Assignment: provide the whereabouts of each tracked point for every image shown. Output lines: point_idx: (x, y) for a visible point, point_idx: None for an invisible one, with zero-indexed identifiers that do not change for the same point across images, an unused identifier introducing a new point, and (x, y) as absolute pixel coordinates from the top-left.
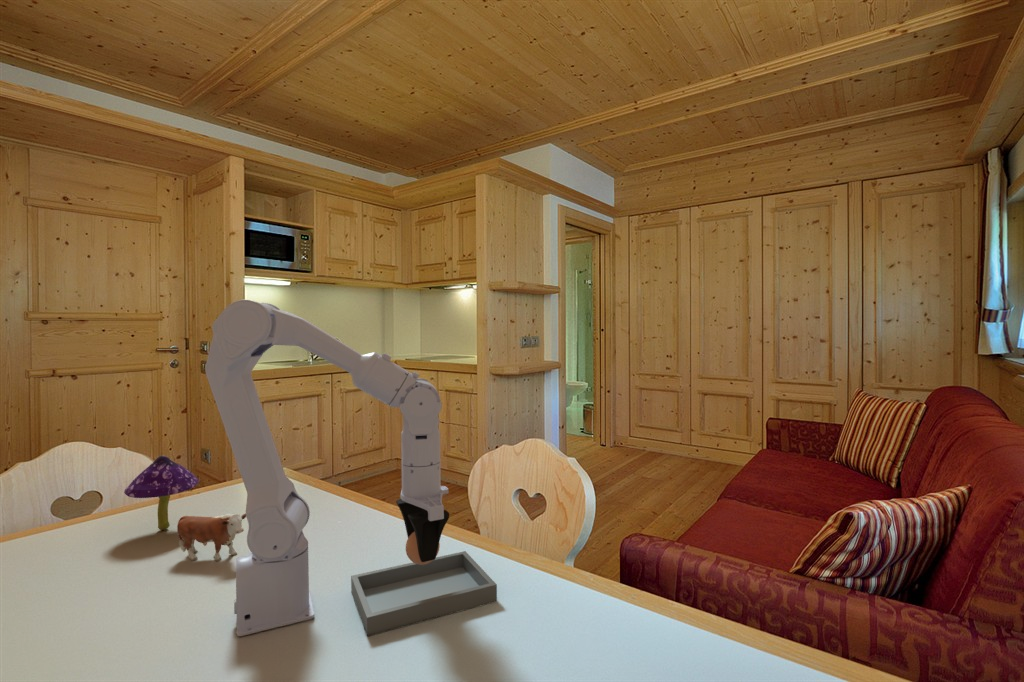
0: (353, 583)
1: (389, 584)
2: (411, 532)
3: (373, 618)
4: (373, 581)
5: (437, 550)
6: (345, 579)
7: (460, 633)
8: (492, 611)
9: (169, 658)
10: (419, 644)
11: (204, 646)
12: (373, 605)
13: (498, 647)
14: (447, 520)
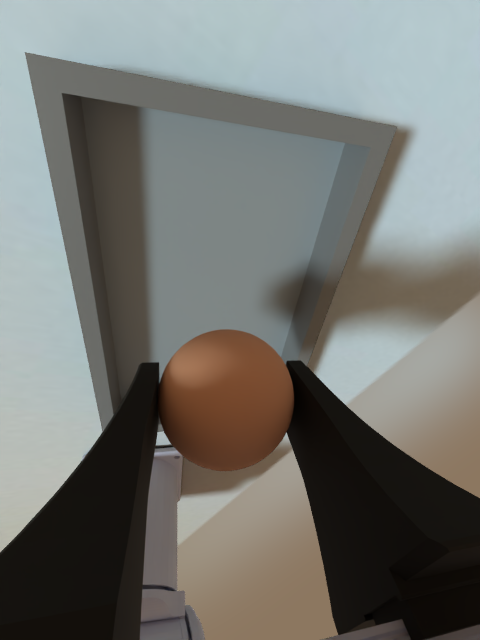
0: None
1: (116, 347)
2: (152, 450)
3: None
4: (115, 387)
5: (280, 357)
6: (39, 408)
7: (384, 278)
8: (386, 170)
9: (183, 523)
10: (351, 343)
11: (177, 510)
12: None
13: (475, 235)
14: (476, 497)
